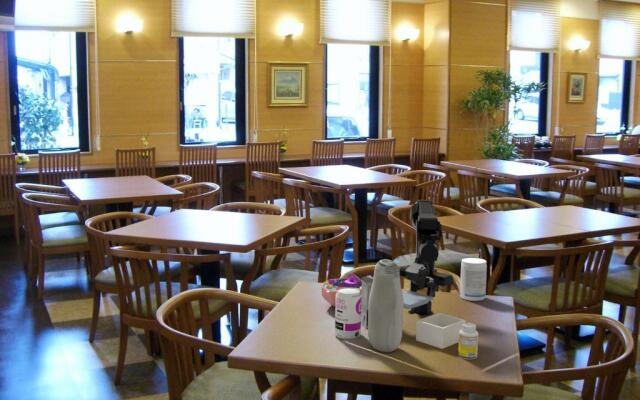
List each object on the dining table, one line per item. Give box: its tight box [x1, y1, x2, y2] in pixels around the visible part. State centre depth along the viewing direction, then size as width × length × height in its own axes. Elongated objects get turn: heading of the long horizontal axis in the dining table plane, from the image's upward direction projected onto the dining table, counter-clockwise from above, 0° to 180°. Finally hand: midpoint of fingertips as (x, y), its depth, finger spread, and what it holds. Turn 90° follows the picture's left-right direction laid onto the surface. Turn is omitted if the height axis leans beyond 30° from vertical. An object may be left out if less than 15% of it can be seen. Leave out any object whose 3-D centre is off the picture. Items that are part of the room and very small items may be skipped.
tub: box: [415, 312, 467, 350], centre depth 226 cm, size 10×12×7 cm
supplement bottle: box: [457, 322, 479, 360], centre depth 213 cm, size 6×6×10 cm
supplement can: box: [334, 288, 362, 340], centre depth 229 cm, size 8×8×15 cm
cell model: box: [321, 273, 362, 308], centre depth 261 cm, size 17×20×11 cm
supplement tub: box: [459, 257, 488, 302], centre depth 274 cm, size 10×10×15 cm
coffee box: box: [361, 276, 374, 330], centre depth 240 cm, size 9×6×16 cm
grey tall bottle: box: [367, 258, 405, 353], centre depth 216 cm, size 10×10×28 cm
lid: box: [402, 288, 435, 310], centre depth 236 cm, size 11×17×3 cm, turn 135°
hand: (424, 300), depth 241 cm, fingers closed on lid, 3 cm apart
